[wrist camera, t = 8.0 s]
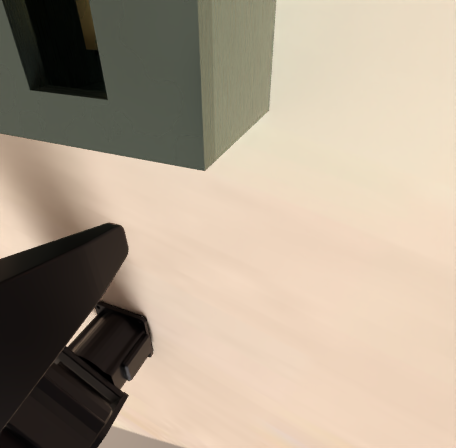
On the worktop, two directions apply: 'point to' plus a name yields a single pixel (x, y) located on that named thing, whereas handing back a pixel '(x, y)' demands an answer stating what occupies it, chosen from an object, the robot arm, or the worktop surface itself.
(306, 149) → the worktop surface
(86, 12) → the gold rectangular block
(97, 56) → the box
